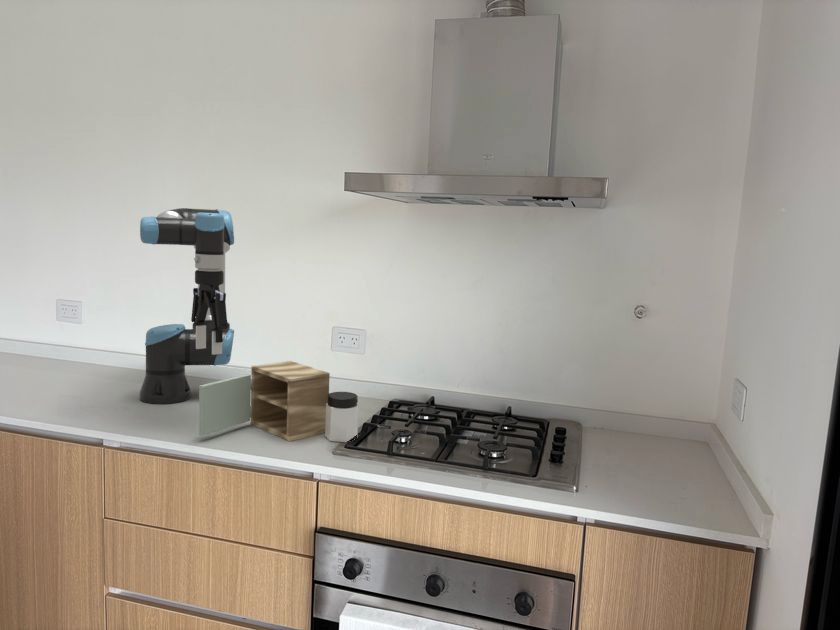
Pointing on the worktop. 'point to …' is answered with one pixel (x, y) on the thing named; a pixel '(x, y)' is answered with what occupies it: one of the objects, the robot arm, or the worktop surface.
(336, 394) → the jar
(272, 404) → the cabinet
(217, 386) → the door
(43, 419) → the worktop surface
